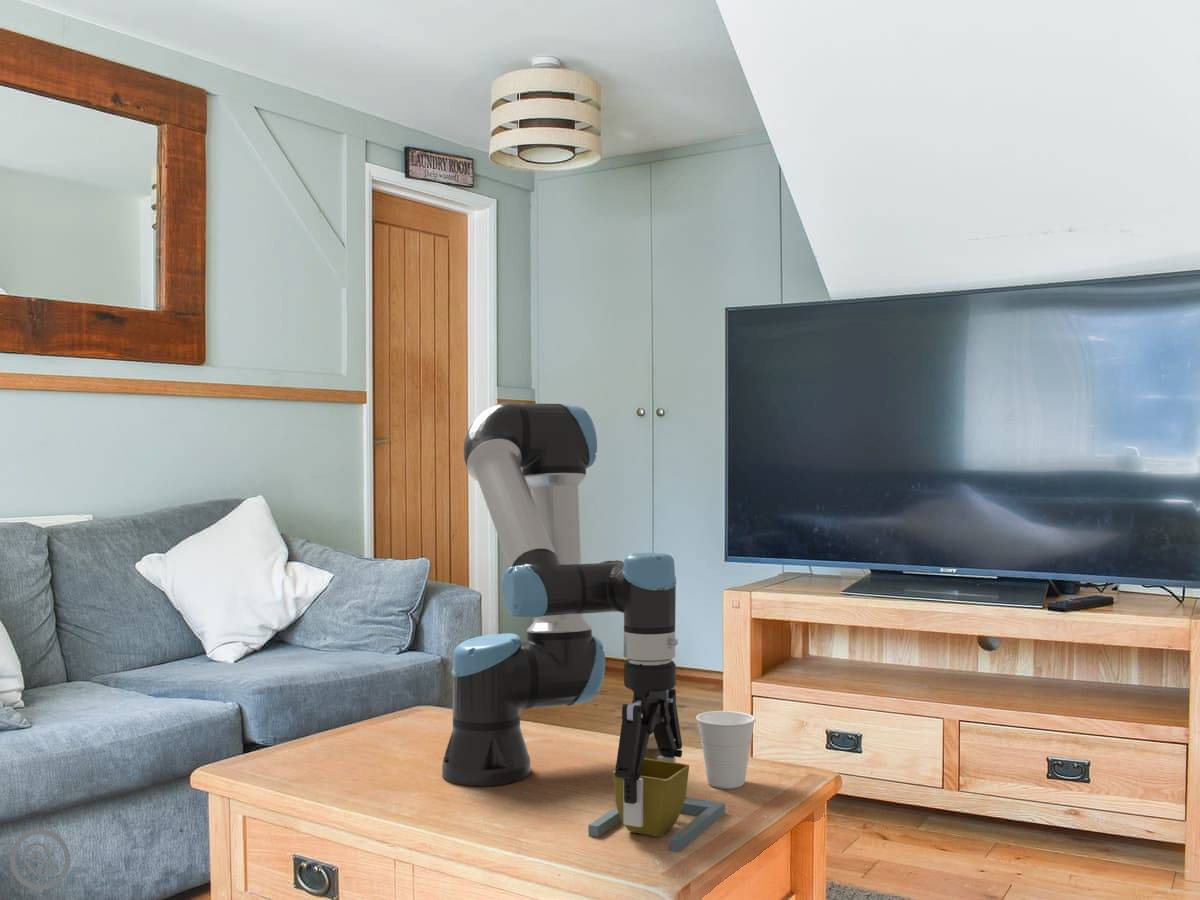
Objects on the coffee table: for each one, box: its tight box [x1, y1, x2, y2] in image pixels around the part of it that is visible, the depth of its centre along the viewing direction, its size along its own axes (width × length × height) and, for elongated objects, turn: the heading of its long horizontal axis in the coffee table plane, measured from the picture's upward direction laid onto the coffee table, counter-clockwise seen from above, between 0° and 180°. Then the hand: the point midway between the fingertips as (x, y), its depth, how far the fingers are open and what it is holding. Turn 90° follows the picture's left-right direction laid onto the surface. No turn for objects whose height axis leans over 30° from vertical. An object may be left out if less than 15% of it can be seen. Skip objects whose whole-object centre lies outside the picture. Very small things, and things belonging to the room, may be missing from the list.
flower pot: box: [612, 758, 690, 838], centre depth 147 cm, size 9×9×9 cm
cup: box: [695, 710, 756, 790], centre depth 169 cm, size 10×10×11 cm
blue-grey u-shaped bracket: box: [587, 796, 726, 853], centre depth 149 cm, size 18×14×2 cm
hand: (650, 812), depth 147 cm, fingers open, 11 cm apart
